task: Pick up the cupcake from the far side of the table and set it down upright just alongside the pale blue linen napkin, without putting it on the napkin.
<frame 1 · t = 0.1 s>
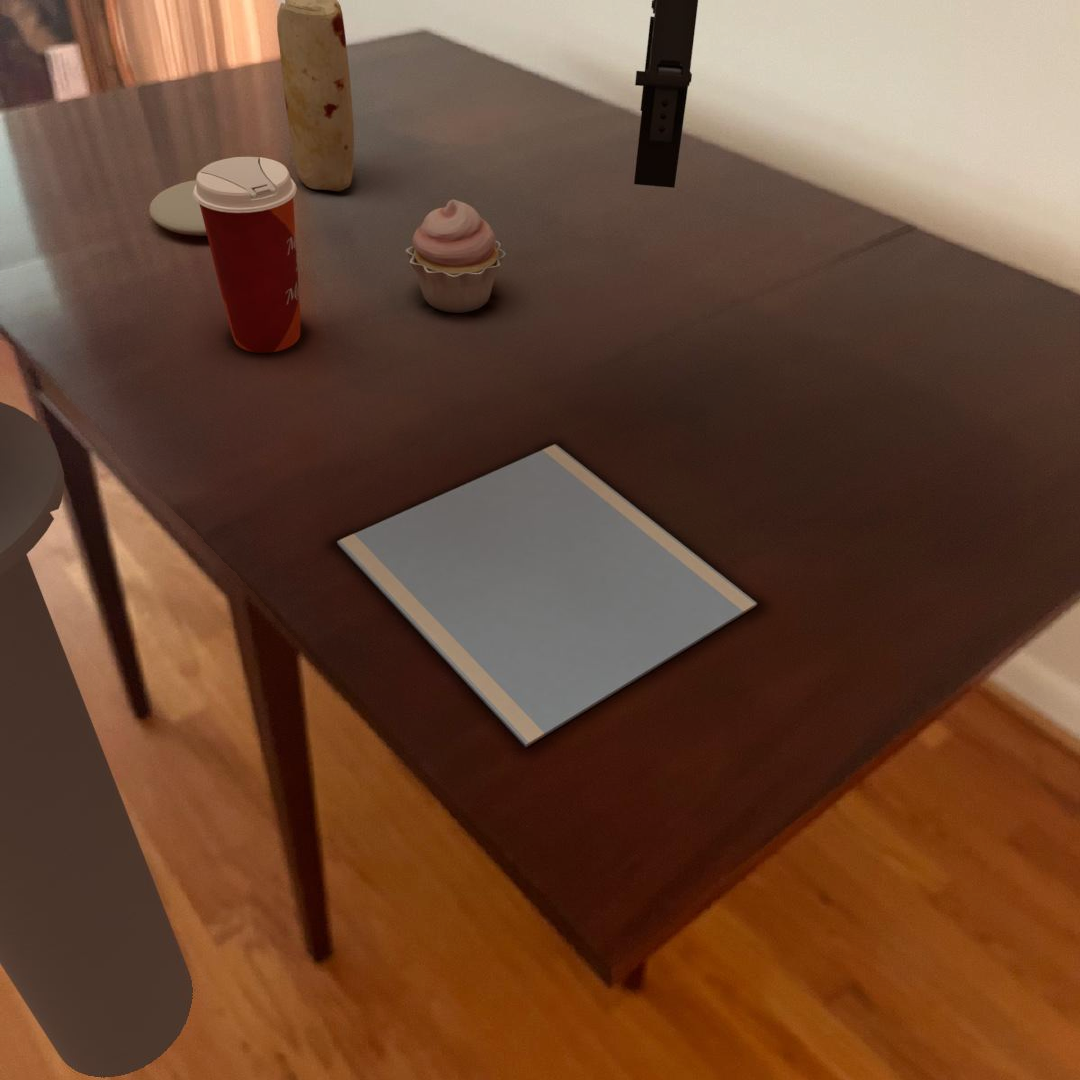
hand: (656, 145, 75), 22 cm above the table, tool pointing down, fingers open, 13 cm apart
cupcake: (456, 299, 101), on the table
food model: (327, 182, 120), on the table
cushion: (211, 221, 111), on the table
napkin: (542, 574, 73), on the table
coffee cup: (267, 337, 95), on the table
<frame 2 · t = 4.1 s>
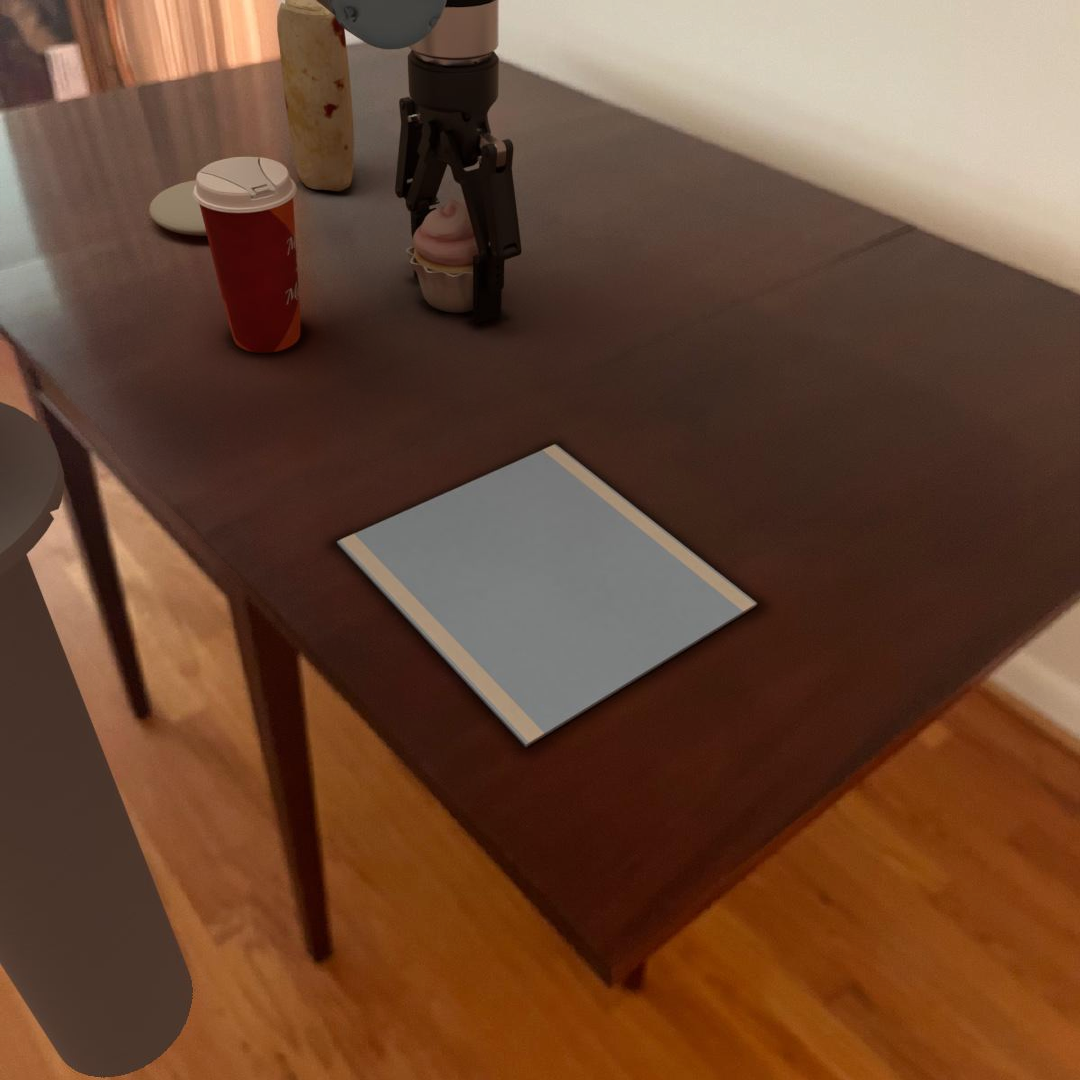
hand: (456, 295, 101), 0 cm above the table, tool pointing down, fingers closed on cupcake, 9 cm apart
cupcake: (456, 299, 101), on the table, touching gripper
everything else where it was.
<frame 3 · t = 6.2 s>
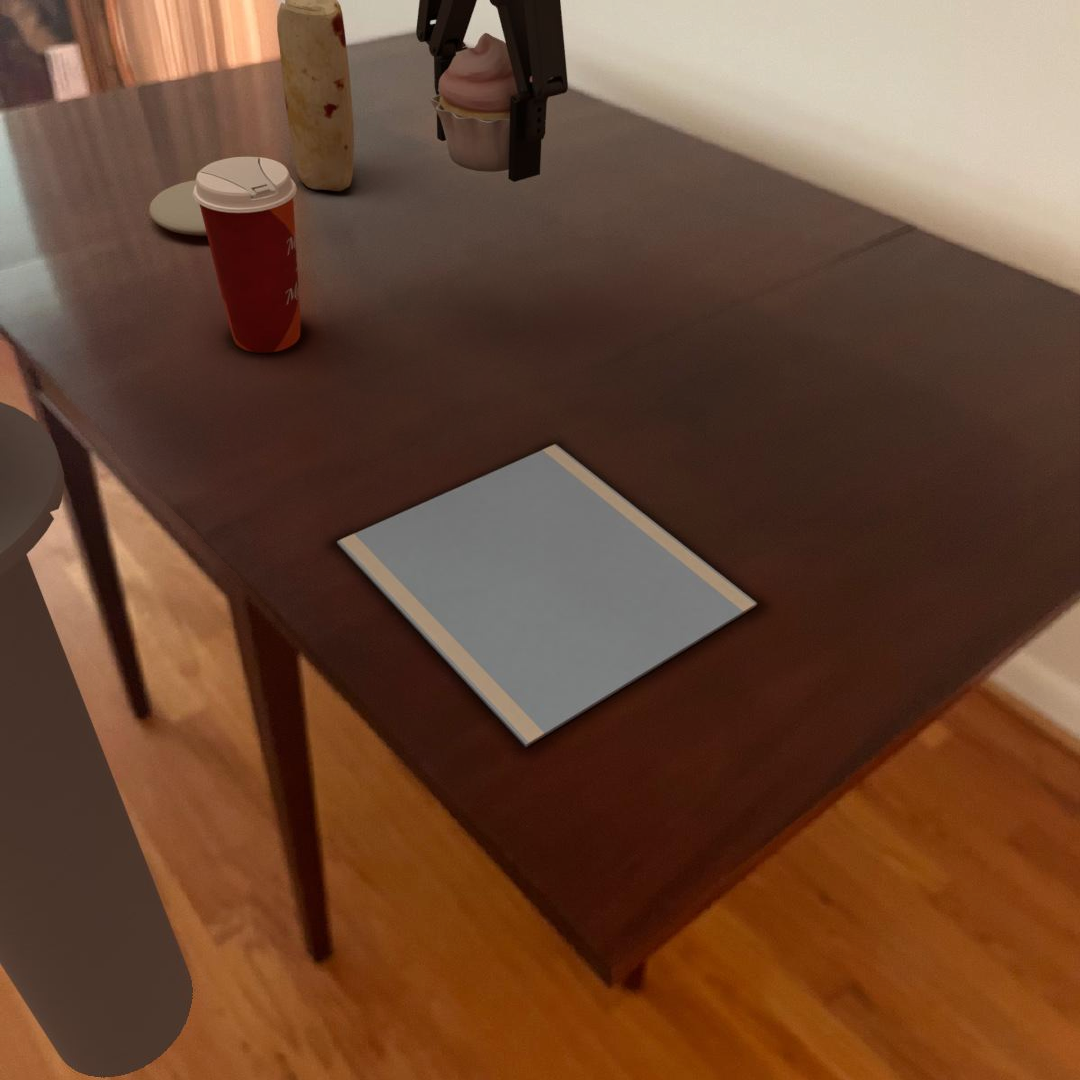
hand: (487, 155, 88), 15 cm above the table, tool pointing down, fingers closed on cupcake, 9 cm apart
cupcake: (486, 161, 89), point 15 cm above the table, touching gripper
everything else where it was.
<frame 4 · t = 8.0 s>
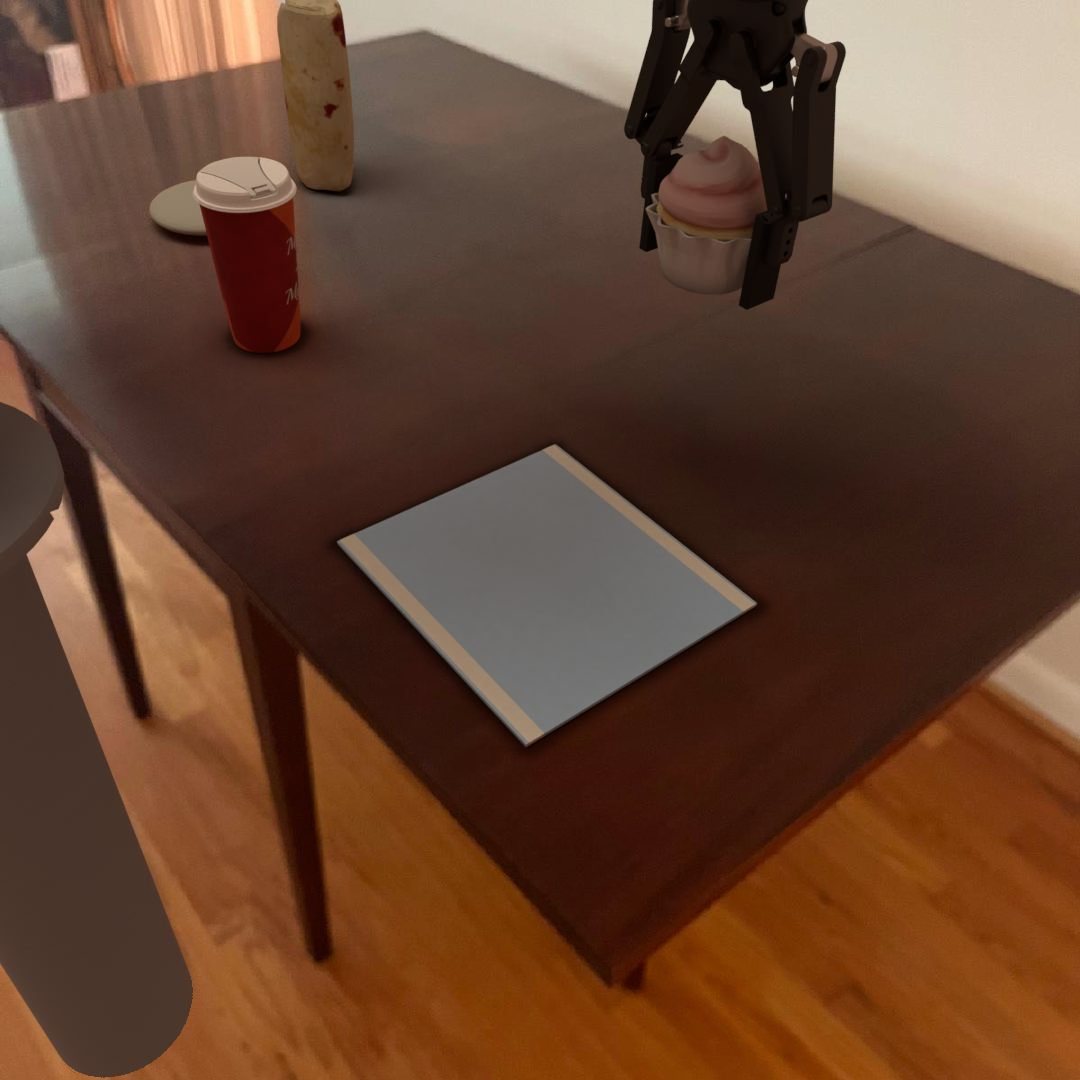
hand: (704, 272, 74), 16 cm above the table, tool pointing down, fingers closed on cupcake, 9 cm apart
cupcake: (703, 278, 75), point 15 cm above the table, touching gripper
everything else where it was.
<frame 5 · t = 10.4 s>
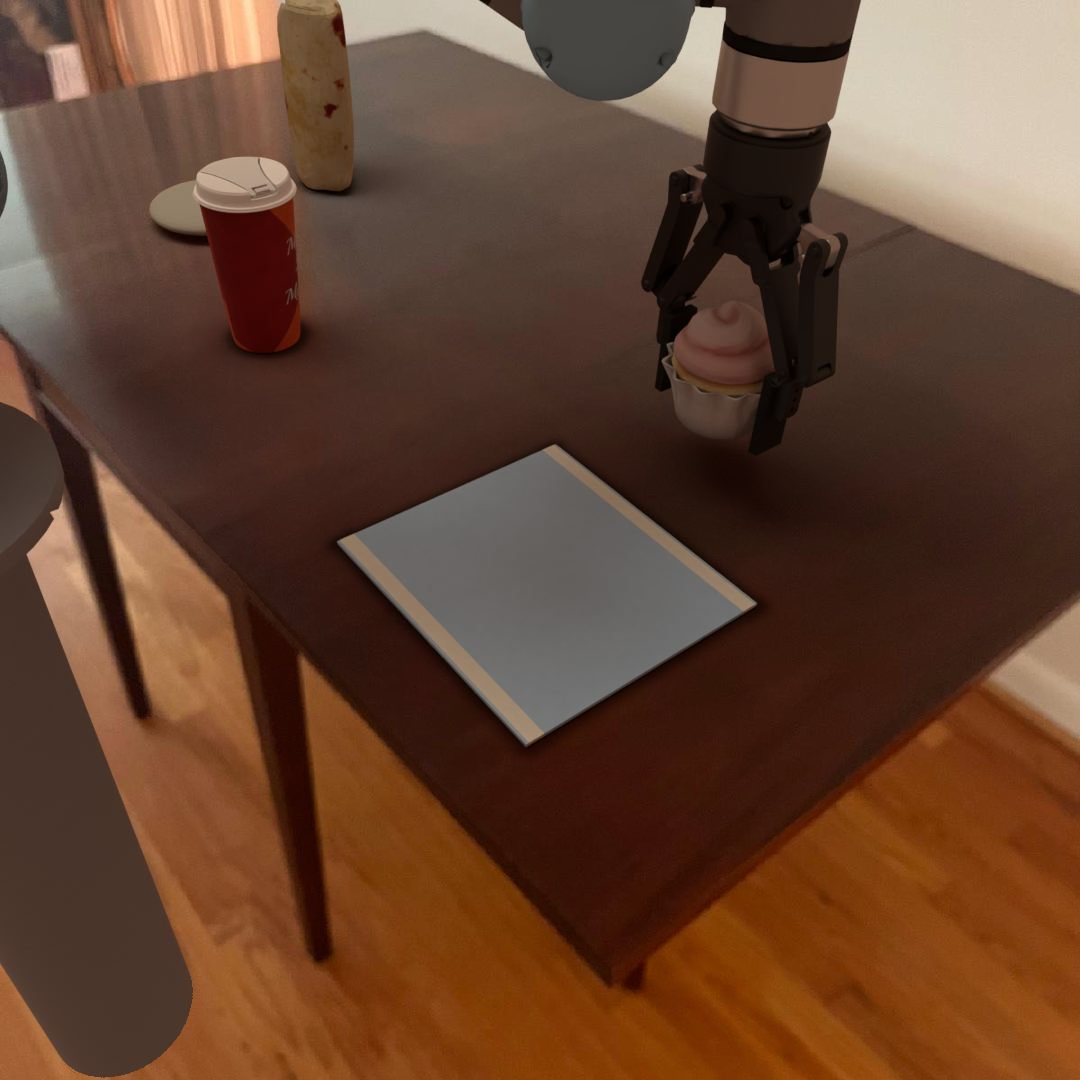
hand: (715, 414, 80), 5 cm above the table, tool pointing down, fingers closed on cupcake, 9 cm apart
cupcake: (714, 419, 80), point 5 cm above the table, touching gripper
everything else where it was.
when the fingers open (0 cm above the table, at t = 12.2 s): cupcake stays where it is, on the table.
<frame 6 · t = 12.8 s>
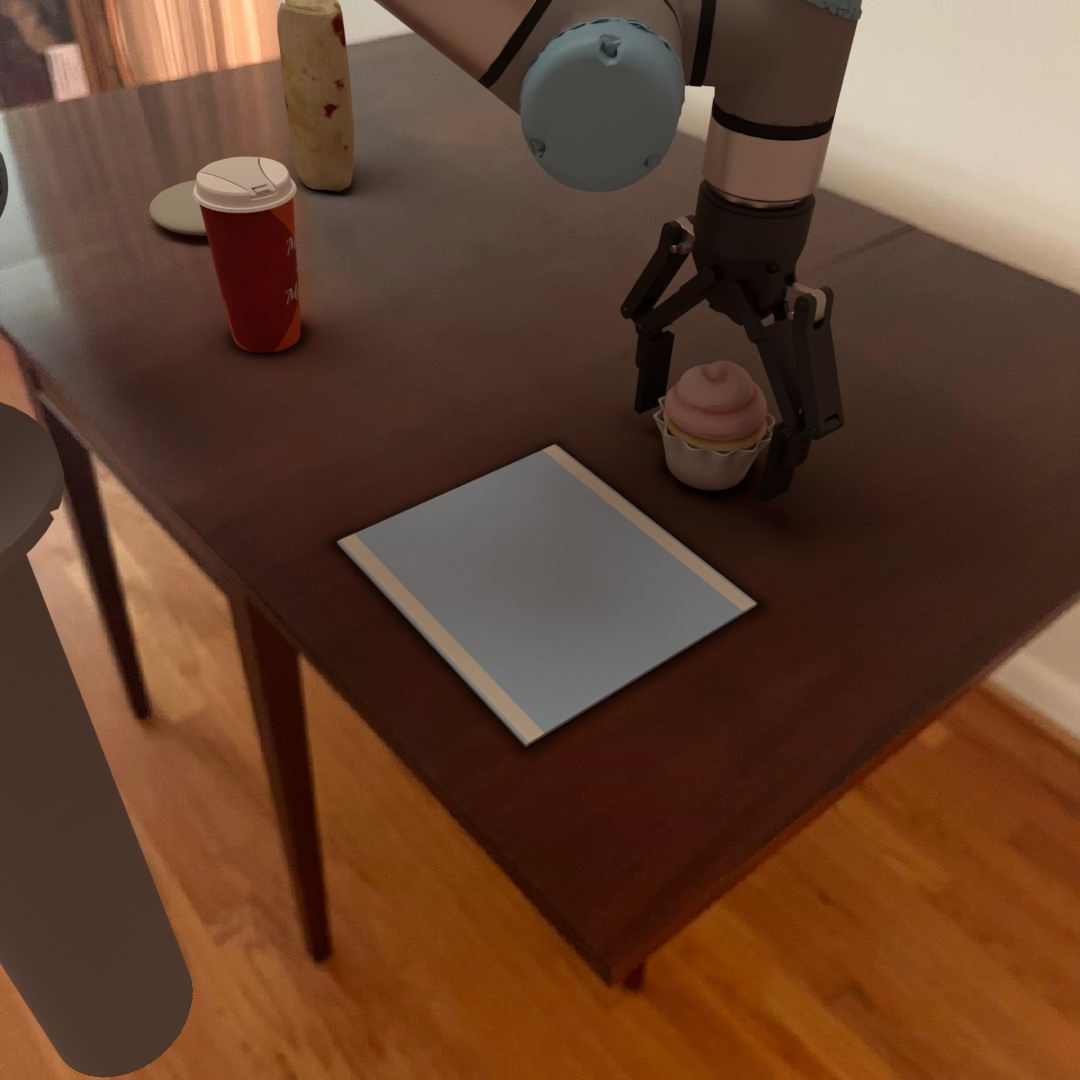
hand: (708, 448, 82), 2 cm above the table, tool pointing down, fingers open, 13 cm apart
cupcake: (704, 469, 83), on the table
everything else where it was.
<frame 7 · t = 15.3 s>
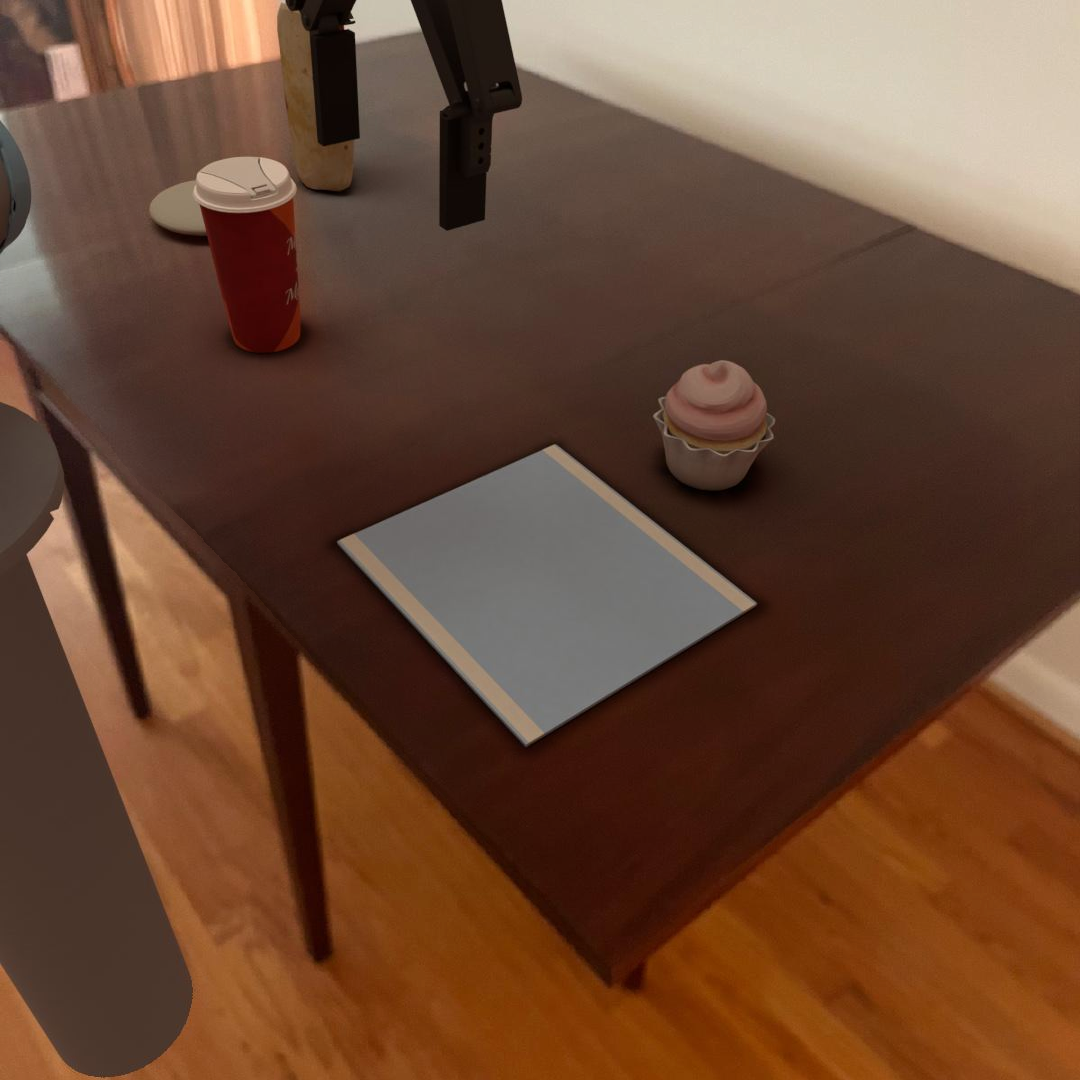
hand: (397, 180, 64), 24 cm above the table, tool pointing down, fingers open, 13 cm apart
nothing on the table moved.
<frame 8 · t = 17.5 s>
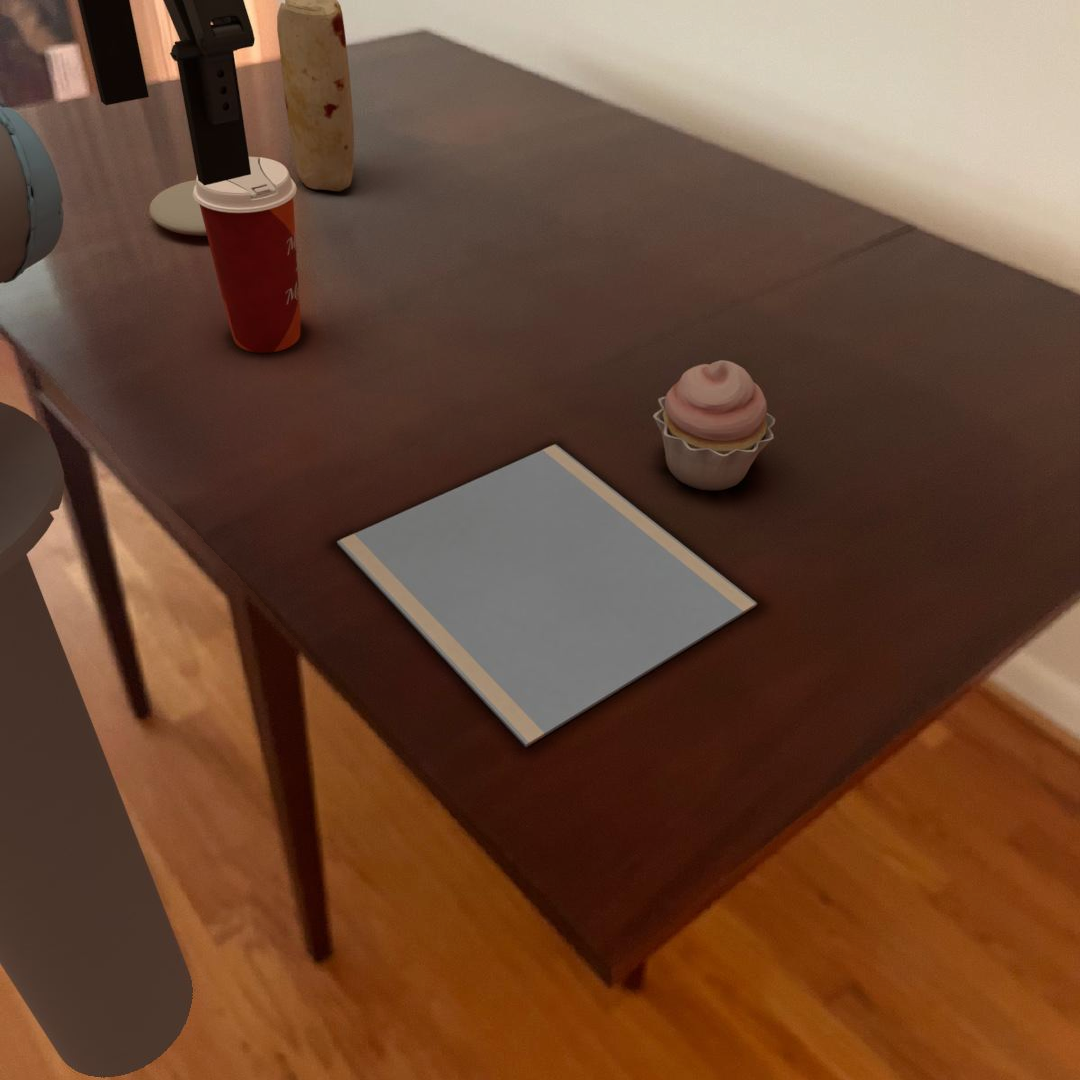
hand: (172, 136, 60), 27 cm above the table, tool pointing down, fingers open, 13 cm apart
nothing on the table moved.
at the end: cupcake inside the target area on the table beside the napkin (2.1 cm from its centre), on the table; cupcake touching table; cupcake tilted 0° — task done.
